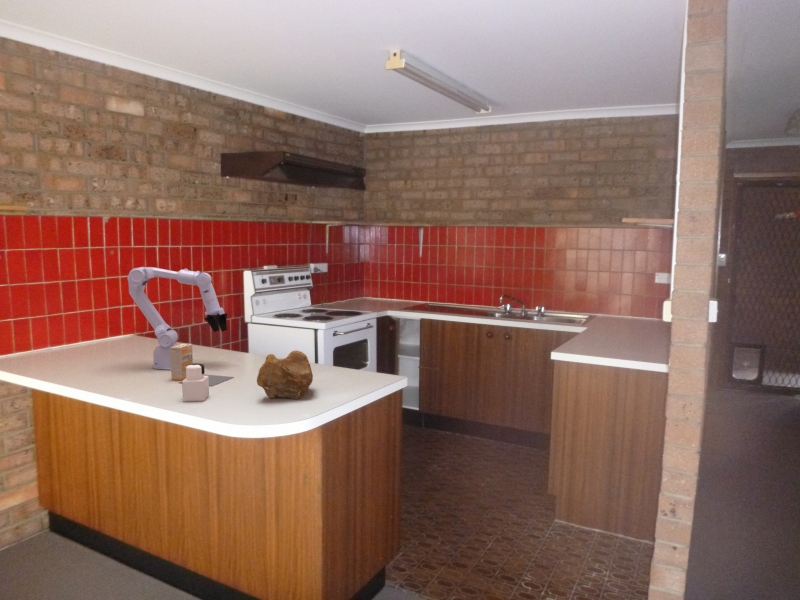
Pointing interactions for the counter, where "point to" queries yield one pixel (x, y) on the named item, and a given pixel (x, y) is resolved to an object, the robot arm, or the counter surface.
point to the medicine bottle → (195, 383)
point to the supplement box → (180, 360)
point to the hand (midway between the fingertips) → (220, 331)
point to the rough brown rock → (285, 375)
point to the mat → (216, 379)
